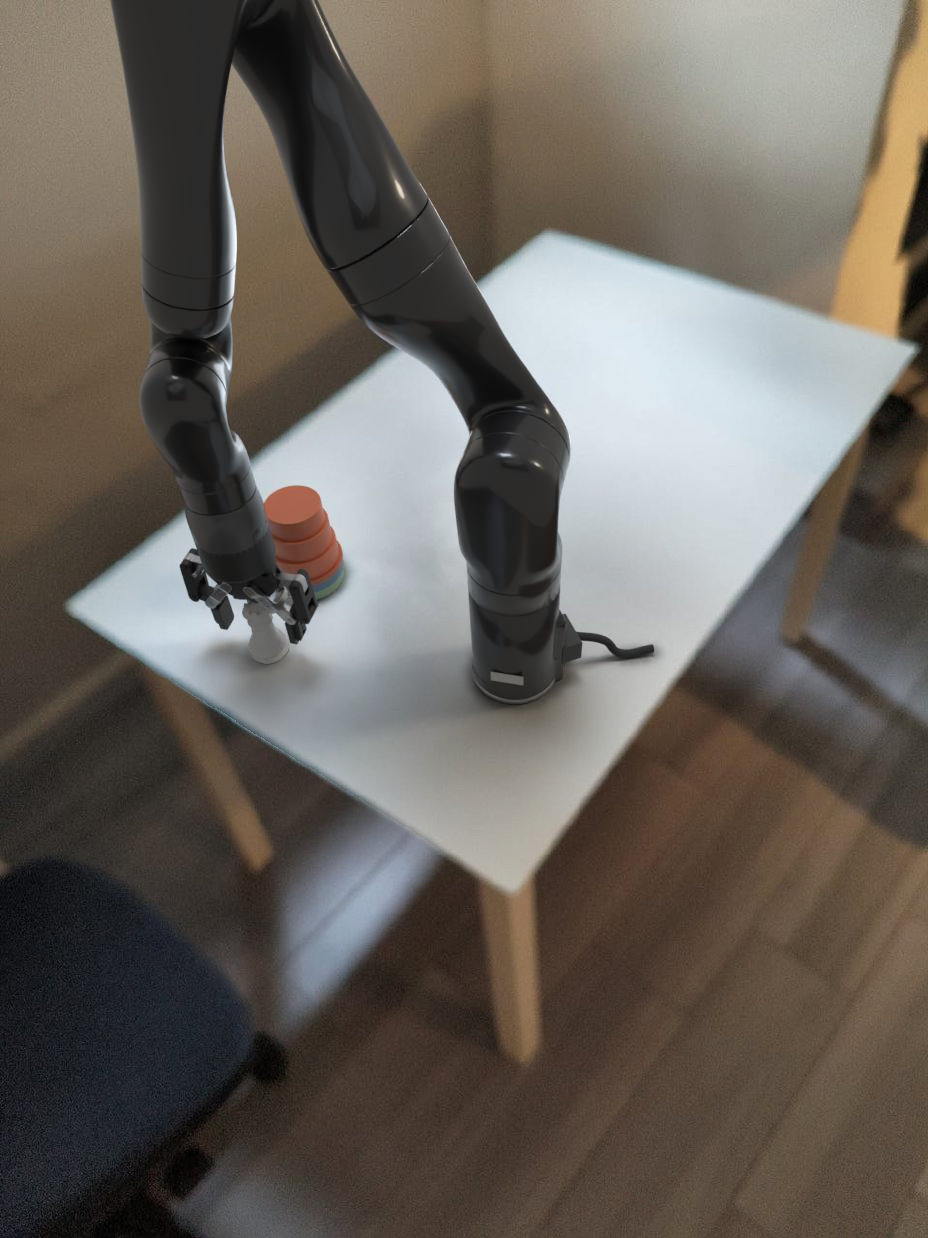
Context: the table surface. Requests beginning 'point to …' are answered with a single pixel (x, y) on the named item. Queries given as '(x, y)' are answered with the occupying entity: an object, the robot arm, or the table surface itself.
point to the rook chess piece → (264, 635)
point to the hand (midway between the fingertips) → (262, 631)
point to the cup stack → (305, 537)
